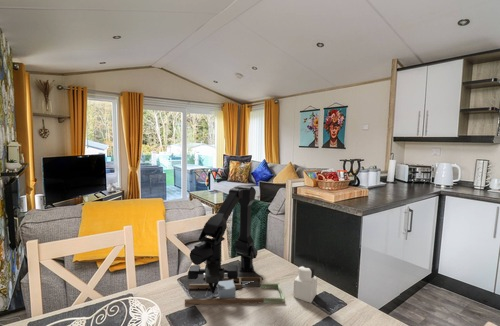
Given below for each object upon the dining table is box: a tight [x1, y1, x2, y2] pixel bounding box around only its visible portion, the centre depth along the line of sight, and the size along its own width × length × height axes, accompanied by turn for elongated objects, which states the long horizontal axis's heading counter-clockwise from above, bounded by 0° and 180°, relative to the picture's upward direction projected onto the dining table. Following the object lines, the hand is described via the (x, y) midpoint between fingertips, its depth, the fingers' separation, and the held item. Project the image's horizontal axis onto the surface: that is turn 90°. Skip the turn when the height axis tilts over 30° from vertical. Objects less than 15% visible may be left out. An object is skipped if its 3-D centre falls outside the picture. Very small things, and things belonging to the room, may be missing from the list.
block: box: [217, 280, 237, 298], centre depth 101 cm, size 6×6×4 cm
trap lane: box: [184, 276, 285, 305], centre depth 104 cm, size 16×37×2 cm, turn 94°
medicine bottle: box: [293, 263, 318, 304], centre depth 102 cm, size 7×7×12 cm
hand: (213, 292), depth 101 cm, fingers closed
